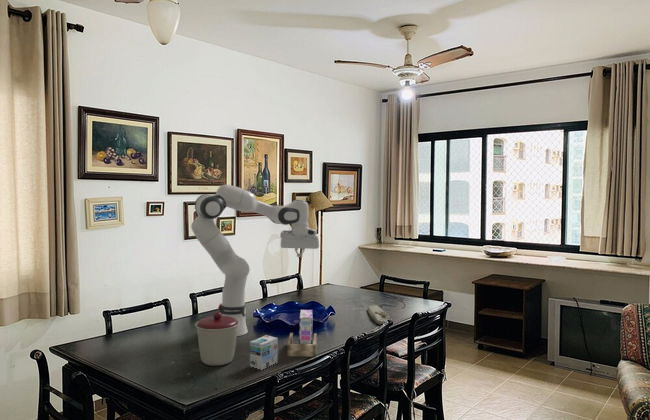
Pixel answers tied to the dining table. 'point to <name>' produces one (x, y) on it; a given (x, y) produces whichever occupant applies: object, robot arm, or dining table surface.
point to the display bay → (301, 347)
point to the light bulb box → (263, 352)
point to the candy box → (305, 327)
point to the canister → (217, 339)
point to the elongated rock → (378, 314)
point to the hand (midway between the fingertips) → (299, 256)
